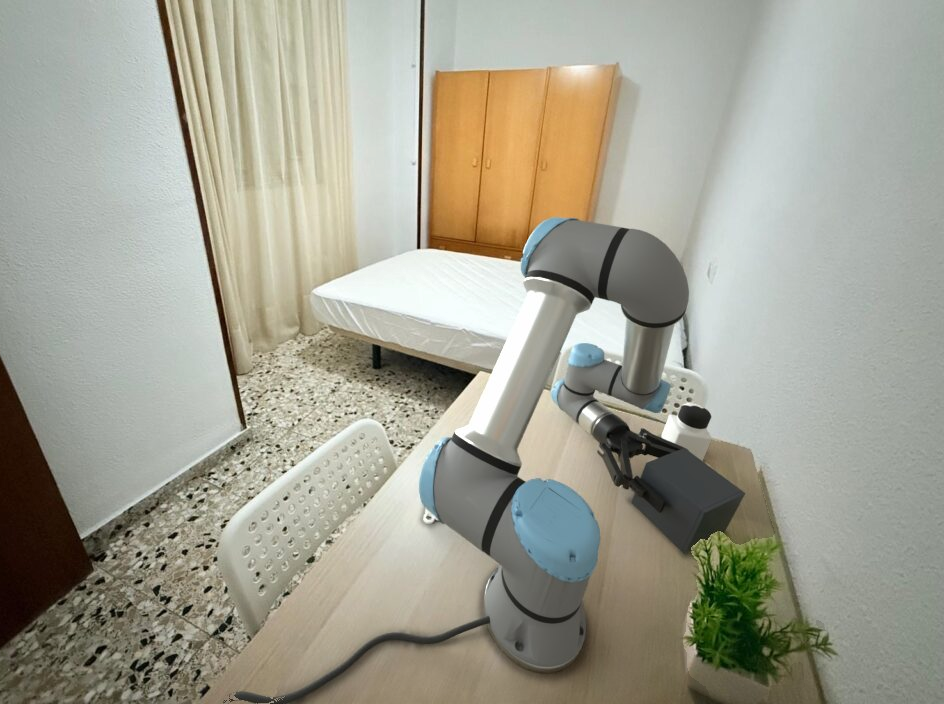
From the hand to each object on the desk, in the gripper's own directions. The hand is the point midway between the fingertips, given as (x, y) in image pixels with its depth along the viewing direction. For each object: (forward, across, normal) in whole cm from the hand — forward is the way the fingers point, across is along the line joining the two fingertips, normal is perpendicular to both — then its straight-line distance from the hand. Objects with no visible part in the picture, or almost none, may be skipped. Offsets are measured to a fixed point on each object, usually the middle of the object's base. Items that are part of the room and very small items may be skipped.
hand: (688, 496), depth 76 cm
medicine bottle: (-13, -19, -7) cm, 24 cm away
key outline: (-20, +40, -7) cm, 45 cm away
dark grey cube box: (0, 0, -6) cm, 6 cm away
